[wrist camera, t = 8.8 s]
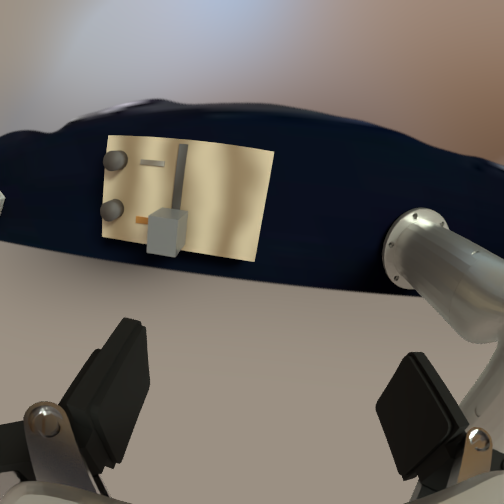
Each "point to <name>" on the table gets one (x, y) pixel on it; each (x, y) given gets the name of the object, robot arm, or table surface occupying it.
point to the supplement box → (1, 201)
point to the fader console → (187, 191)
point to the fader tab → (166, 231)
